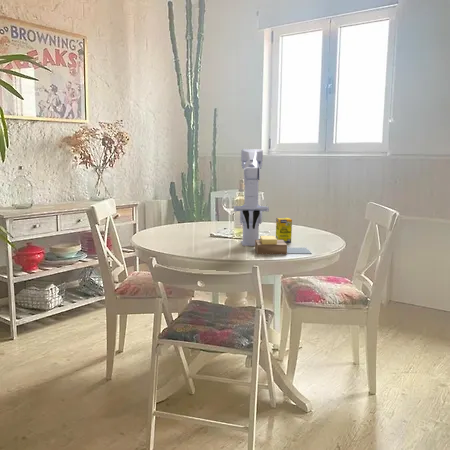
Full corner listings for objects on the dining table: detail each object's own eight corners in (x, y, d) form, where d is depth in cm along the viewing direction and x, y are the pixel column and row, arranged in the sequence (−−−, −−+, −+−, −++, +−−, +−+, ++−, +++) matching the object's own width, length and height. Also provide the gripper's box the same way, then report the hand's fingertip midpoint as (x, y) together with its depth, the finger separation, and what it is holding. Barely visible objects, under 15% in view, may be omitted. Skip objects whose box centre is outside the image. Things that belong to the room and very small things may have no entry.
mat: (283, 248, 211) (283, 247, 211) (305, 248, 212) (305, 247, 212) (287, 253, 200) (287, 253, 200) (311, 253, 201) (311, 253, 201)
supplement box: (279, 243, 222) (279, 219, 220) (275, 240, 228) (276, 217, 226) (291, 242, 223) (292, 219, 221) (287, 240, 229) (288, 217, 227)
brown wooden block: (254, 248, 210) (255, 239, 209) (282, 248, 210) (282, 239, 210) (257, 254, 199) (258, 244, 198) (286, 254, 199) (287, 244, 199)
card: (260, 240, 208) (260, 235, 207) (274, 240, 208) (274, 235, 208) (262, 244, 200) (262, 239, 199) (276, 244, 200) (276, 239, 200)
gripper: (234, 197, 196) (234, 230, 198) (270, 197, 197) (269, 230, 199) (233, 195, 203) (233, 227, 205) (267, 195, 204) (267, 227, 206)
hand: (250, 228), depth 202 cm, fingers closed
